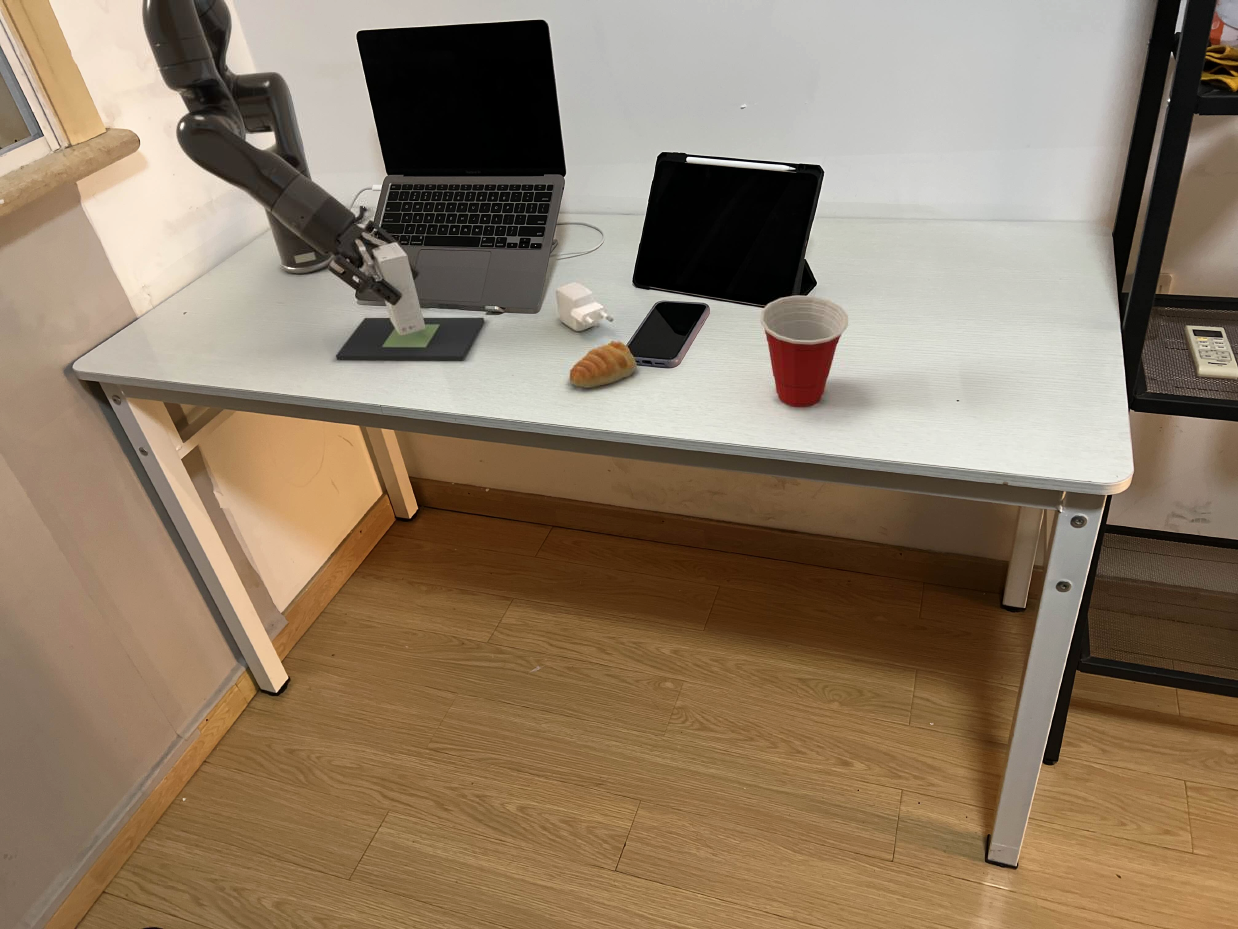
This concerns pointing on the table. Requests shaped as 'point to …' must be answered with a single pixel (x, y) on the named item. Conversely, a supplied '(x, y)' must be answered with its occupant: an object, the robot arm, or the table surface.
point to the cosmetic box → (399, 288)
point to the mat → (412, 340)
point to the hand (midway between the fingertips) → (407, 288)
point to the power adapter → (579, 307)
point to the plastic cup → (802, 345)
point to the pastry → (603, 366)
